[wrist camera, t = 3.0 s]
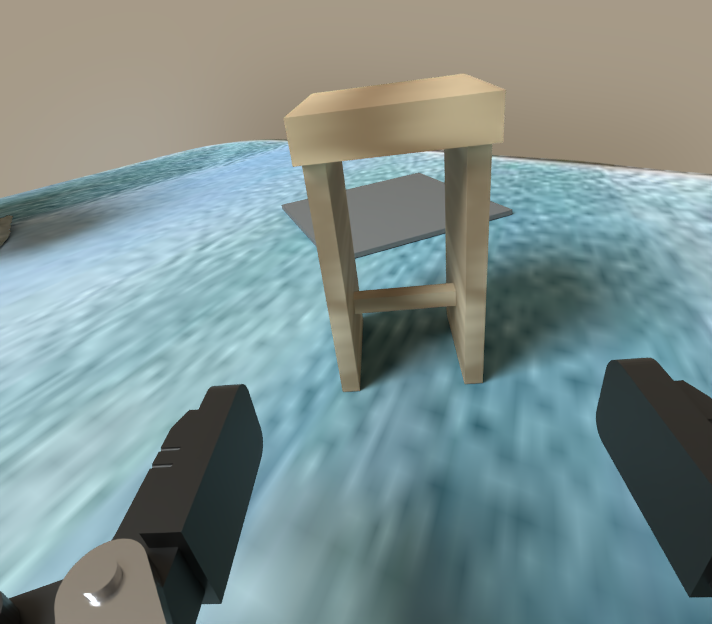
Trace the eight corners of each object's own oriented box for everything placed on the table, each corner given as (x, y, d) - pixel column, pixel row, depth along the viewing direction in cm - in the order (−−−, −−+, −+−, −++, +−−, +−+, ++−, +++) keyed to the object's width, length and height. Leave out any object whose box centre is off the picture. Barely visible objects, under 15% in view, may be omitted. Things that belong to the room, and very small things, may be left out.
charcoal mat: (419, 176, 50) (418, 172, 49) (512, 214, 37) (512, 209, 36) (282, 208, 46) (281, 204, 45) (332, 264, 32) (331, 259, 32)
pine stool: (462, 306, 25) (464, 73, 19) (489, 391, 19) (505, 89, 13) (346, 316, 26) (312, 93, 20) (337, 401, 20) (283, 118, 14)
